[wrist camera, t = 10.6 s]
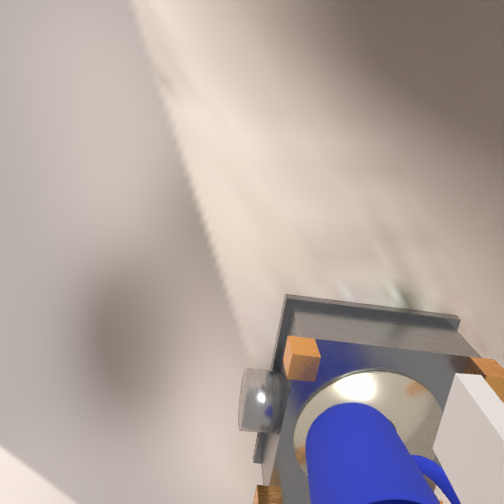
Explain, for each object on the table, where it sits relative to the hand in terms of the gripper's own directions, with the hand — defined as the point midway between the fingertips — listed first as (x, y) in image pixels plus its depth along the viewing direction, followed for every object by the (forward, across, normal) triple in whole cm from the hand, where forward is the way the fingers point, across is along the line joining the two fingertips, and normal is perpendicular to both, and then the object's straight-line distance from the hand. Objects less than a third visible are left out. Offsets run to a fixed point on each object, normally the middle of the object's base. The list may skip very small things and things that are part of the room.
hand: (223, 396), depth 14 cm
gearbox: (+25, +11, -17) cm, 32 cm away
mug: (+19, +12, -17) cm, 28 cm away
